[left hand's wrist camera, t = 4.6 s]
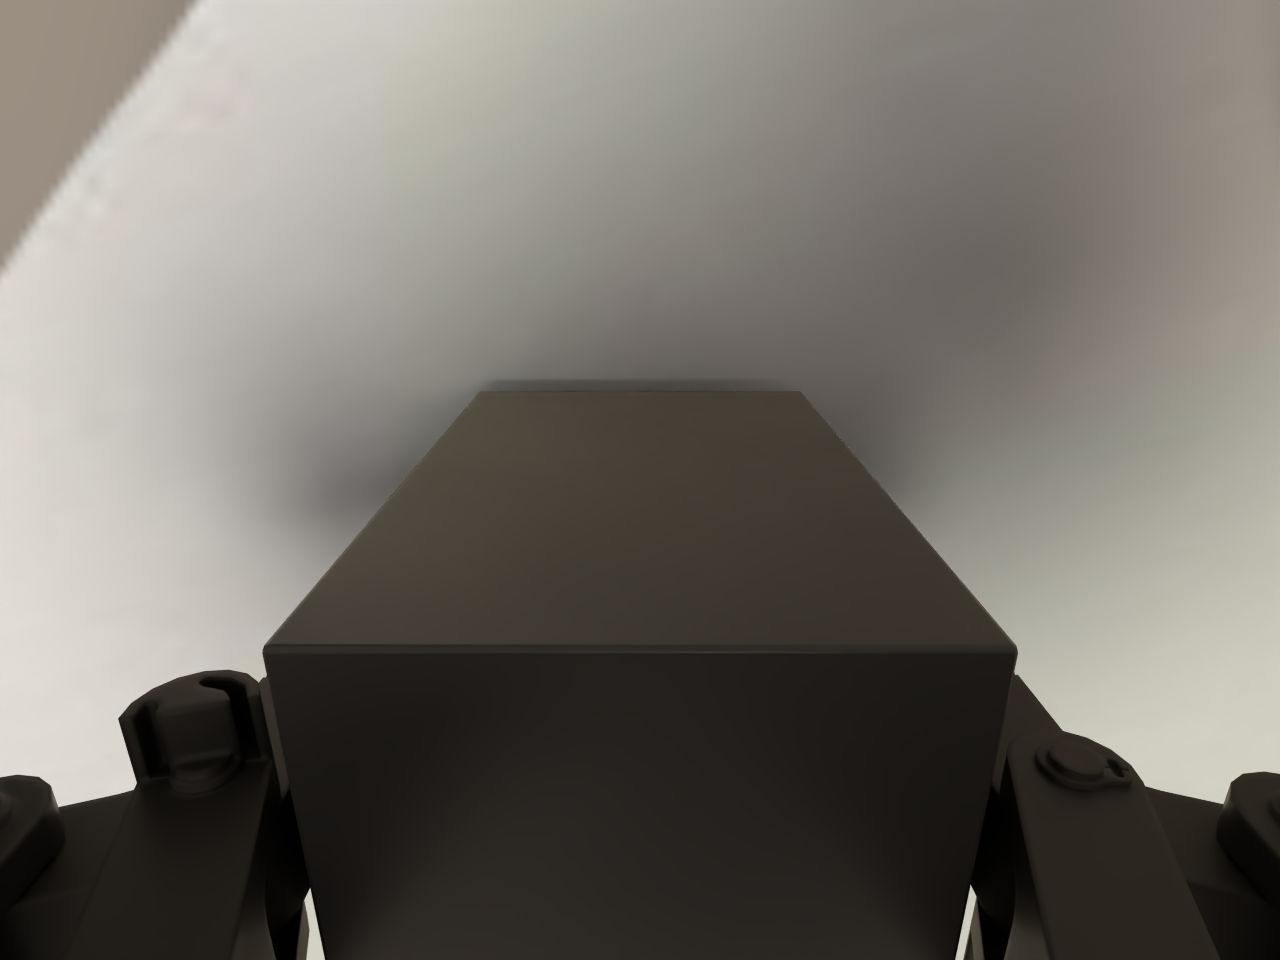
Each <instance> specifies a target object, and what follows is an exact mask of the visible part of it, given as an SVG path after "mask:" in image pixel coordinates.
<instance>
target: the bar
mask: <svg viewBox="0 0 1280 960" xmlns="http://www.w3.org/2000/svg"><path fill="white" fill-rule="evenodd" d="M1017 655H1018V650H1017V647H1016V645H1015V644H1014V642H1013V641H1012V640H1011V639H1010V638H1009V637H1008V635H1007V634H1006V633H1005V632H1004V631H1003V630H1002V628H1001V627H1000V626H999V625H998V624H997V622H996V621H995V620H994V619H993V618H992V617H991V615H990V614H989V613H988V612H987V611H986V610H985V608H984V607H983V606H982V605H981V604H980V602H979V601H978V600H977V599H976V598H975V597H974V595H973V594H972V593H971V592H970V591H969V590H968V588H967V587H966V586H965V585H964V584H963V583H962V581H961V580H960V579H959V578H958V577H957V575H956V574H955V573H954V572H953V571H952V570H951V568H950V567H949V566H948V565H947V564H946V563H945V561H944V560H943V559H942V558H941V557H940V555H939V554H938V553H937V552H936V551H935V550H934V548H933V547H932V546H931V545H930V544H929V543H928V541H927V540H926V539H925V538H924V537H923V536H922V534H921V533H920V532H919V531H918V530H917V528H916V527H915V526H914V525H913V524H912V523H911V521H910V520H909V519H908V518H907V517H906V516H905V514H904V513H903V512H902V511H901V510H900V508H899V507H898V506H897V505H896V504H895V503H894V501H893V500H892V499H891V498H890V497H889V496H888V494H887V493H886V492H885V491H884V490H883V488H882V487H881V486H880V485H879V484H878V483H877V481H876V480H875V479H874V478H873V477H872V476H871V474H870V473H869V472H868V471H867V470H866V469H865V467H864V466H863V465H862V464H861V463H860V461H859V460H858V459H857V458H856V457H855V456H854V454H853V453H852V452H851V451H850V450H849V449H848V447H847V446H846V445H845V444H844V443H843V441H842V440H841V439H840V438H839V437H838V436H837V434H836V433H835V432H834V431H833V430H832V429H831V427H830V426H829V425H828V424H827V423H826V422H825V420H824V419H823V418H822V417H821V416H820V414H819V413H818V412H817V411H816V410H815V409H814V407H813V406H812V405H811V404H810V403H809V402H808V400H807V399H806V398H805V397H804V396H803V394H802V393H801V392H799V391H482V392H479V393H478V395H477V396H476V397H475V398H474V399H473V401H472V402H471V403H470V404H469V405H468V406H467V408H466V409H465V410H464V411H463V412H462V413H461V415H460V416H459V417H458V418H457V419H456V421H455V422H454V423H453V424H452V425H451V426H450V428H449V429H448V430H447V431H446V432H445V433H444V435H443V436H442V437H441V438H440V439H439V441H438V442H437V443H436V444H435V445H434V446H433V448H432V449H431V450H430V451H429V452H428V453H427V455H426V456H425V457H424V458H423V459H422V461H421V462H420V463H419V464H418V465H417V466H416V468H415V469H414V470H413V471H412V472H411V473H410V475H409V476H408V477H407V478H406V479H405V481H404V482H403V483H402V484H401V485H400V486H399V488H398V489H397V490H396V491H395V492H394V493H393V495H392V496H391V497H390V498H389V499H388V501H387V502H386V503H385V504H384V505H383V506H382V508H381V509H380V510H379V511H378V512H377V513H376V515H375V516H374V517H373V518H372V519H371V521H370V522H369V523H368V524H367V525H366V526H365V528H364V529H363V530H362V531H361V532H360V533H359V535H358V536H357V537H356V538H355V539H354V541H353V542H352V543H351V544H350V545H349V546H348V548H347V549H346V550H345V551H344V552H343V553H342V555H341V556H340V557H339V558H338V559H337V561H336V562H335V563H334V564H333V565H332V566H331V568H330V569H329V570H328V571H327V572H326V573H325V575H324V576H323V577H322V578H321V579H320V581H319V582H318V583H317V584H316V585H315V586H314V588H313V589H312V590H311V591H310V592H309V593H308V595H307V596H306V597H305V598H304V599H303V601H302V602H301V603H300V604H299V605H298V606H297V608H296V609H295V610H294V611H293V612H292V613H291V615H290V616H289V617H288V618H287V619H286V621H285V622H284V623H283V624H282V625H281V626H280V628H279V629H278V630H277V631H276V632H275V633H274V635H273V636H272V637H271V638H270V639H269V641H268V642H267V643H266V644H265V645H264V648H263V658H264V663H265V668H266V673H267V678H268V683H269V687H270V692H271V697H272V702H273V707H274V712H275V717H276V722H277V727H278V731H279V736H280V741H281V746H282V751H283V756H284V761H285V766H286V771H287V775H288V780H289V785H290V790H291V795H292V800H293V805H294V810H295V815H296V820H297V824H298V829H299V834H300V839H301V844H302V849H303V854H304V859H305V864H306V868H307V873H308V878H309V883H310V888H311V893H312V898H313V903H314V908H315V912H316V917H317V922H318V927H319V932H320V937H321V942H322V947H323V952H324V956H325V960H955V958H956V953H957V948H958V943H959V938H960V934H961V929H962V924H963V919H964V914H965V909H966V904H967V899H968V894H969V890H970V885H971V880H972V875H973V870H974V865H975V860H976V855H977V850H978V846H979V841H980V836H981V831H982V826H983V821H984V816H985V811H986V807H987V802H988V797H989V792H990V787H991V782H992V777H993V772H994V767H995V763H996V758H997V753H998V748H999V743H1000V738H1001V733H1002V728H1003V724H1004V719H1005V714H1006V709H1007V704H1008V699H1009V694H1010V689H1011V684H1012V680H1013V675H1014V670H1015V665H1016V660H1017Z"/></svg>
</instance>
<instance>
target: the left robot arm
mask: <svg viewBox="0 0 1280 960" xmlns="http://www.w3.org/2000/svg"><path fill="white" fill-rule="evenodd" d="M118 720H119V723H120V727H121V730H122V733H123V737H124V740H125V744H126V747H127V750H128V754H129V757H130V761H131V764H132V768H133V771H134V774H135V778H136V781H137V784H136V787H135V789H134V790H132V791H128V792H125V793H121V794H117V795H113V796H108V797H103V798H99V799H94V800H90V801H85V802H80V803H76V804H71V805H67V806H62V807H58V805H57V803H56V800H55V797H54V794H53V791H52V788H51V786H50V785H49V784H48V783H46V782H45V781H44V780H42V779H41V778H40V777H34V776H25V775H13V776H7V777H0V960H306V957H307V947H308V938H309V924H308V917H307V912H306V907H305V902H304V899H305V897H306V895H307V893H308V891H309V889H310V883H309V878H308V873H307V868H306V864H305V859H304V854H303V849H302V844H301V839H300V834H299V829H298V824H297V820H296V815H295V810H294V805H293V800H292V795H291V790H290V785H289V780H288V775H287V771H286V766H285V761H284V756H283V751H282V746H281V741H280V736H279V731H278V727H277V722H276V717H275V712H274V707H273V702H272V697H271V692H270V687H269V683H268V678H267V677H266V678H262V680H261V681H260V682H259V683H258V682H257V681H256V680H255V679H254V678H252V677H251V676H250V675H249V674H247V673H242V672H237V671H232V670H217V671H203V672H199V673H195V674H191V675H187V676H183V677H179V678H176V679H174V680H172V681H169V682H167V683H165V684H163V685H160V686H158V687H156V688H153V689H152V690H150V691H149V692H147V693H146V694H144V695H143V696H141V697H140V698H138V699H137V700H135V701H134V702H132V703H131V704H130V705H129V707H128V708H127V709H126V710H125V711H124V712H123V714H122V715H121V716H120V717H119V718H118ZM971 886H972V888H973V890H974V892H975V894H976V896H977V897H976V902H975V907H974V912H973V916H972V921H971V926H970V931H969V935H968V940H967V945H966V950H965V954H964V959H963V960H1280V774H1276V773H1270V772H1256V773H1246V774H1242V775H1241V776H1239V777H1238V778H1237V779H1235V780H1234V781H1232V782H1231V784H1230V787H1229V790H1228V793H1227V796H1226V799H1225V802H1224V804H1219V803H1215V802H1210V801H1206V800H1201V799H1196V798H1192V797H1187V796H1183V795H1178V794H1173V793H1169V792H1164V791H1160V790H1156V789H1153V788H1149V787H1146V786H1145V785H1144V783H1143V781H1142V780H1141V778H1140V777H1139V776H1138V774H1137V773H1136V771H1135V770H1134V769H1133V767H1132V766H1131V765H1130V764H1129V763H1128V762H1126V761H1125V760H1124V759H1122V758H1121V757H1120V756H1119V755H1117V754H1116V753H1115V752H1113V751H1112V750H1111V749H1109V748H1107V747H1105V746H1103V745H1101V744H1098V743H1096V742H1094V741H1092V740H1090V739H1088V738H1086V737H1082V736H1079V735H1075V734H1072V733H1068V732H1065V731H1062V729H1061V728H1060V727H1059V726H1058V724H1057V723H1056V722H1055V721H1054V719H1053V718H1052V717H1051V716H1050V714H1049V713H1048V712H1047V711H1046V709H1045V708H1044V707H1043V706H1042V704H1041V703H1040V702H1039V701H1038V699H1037V698H1036V697H1035V696H1034V694H1033V693H1032V692H1031V691H1030V689H1029V688H1028V687H1027V686H1026V684H1025V683H1024V682H1023V681H1022V679H1021V678H1020V677H1019V676H1018V675H1015V674H1014V675H1013V680H1012V684H1011V689H1010V694H1009V699H1008V704H1007V709H1006V714H1005V719H1004V724H1003V728H1002V733H1001V738H1000V743H999V748H998V753H997V758H996V763H995V767H994V772H993V777H992V782H991V787H990V792H989V797H988V802H987V807H986V811H985V816H984V821H983V826H982V831H981V836H980V841H979V846H978V850H977V855H976V860H975V865H974V870H973V875H972V880H971Z"/></svg>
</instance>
